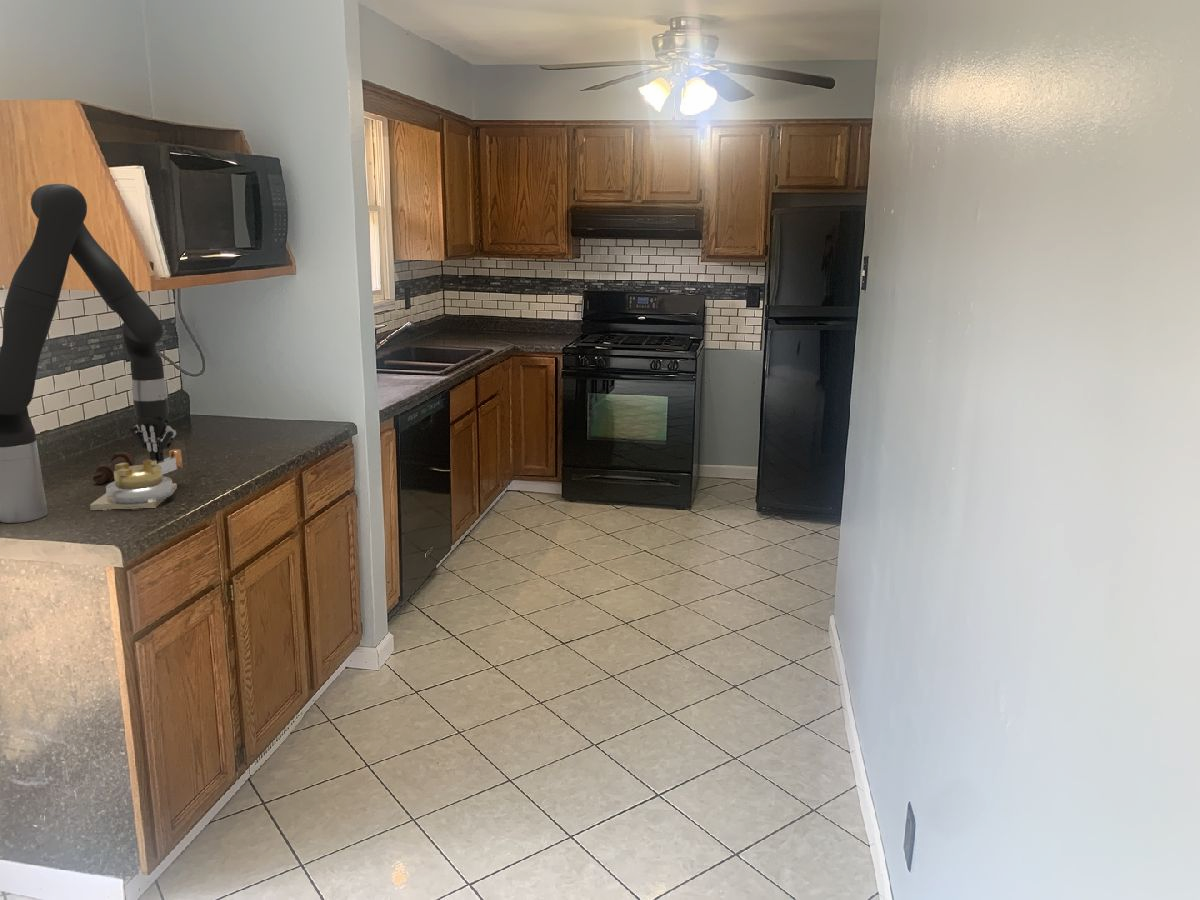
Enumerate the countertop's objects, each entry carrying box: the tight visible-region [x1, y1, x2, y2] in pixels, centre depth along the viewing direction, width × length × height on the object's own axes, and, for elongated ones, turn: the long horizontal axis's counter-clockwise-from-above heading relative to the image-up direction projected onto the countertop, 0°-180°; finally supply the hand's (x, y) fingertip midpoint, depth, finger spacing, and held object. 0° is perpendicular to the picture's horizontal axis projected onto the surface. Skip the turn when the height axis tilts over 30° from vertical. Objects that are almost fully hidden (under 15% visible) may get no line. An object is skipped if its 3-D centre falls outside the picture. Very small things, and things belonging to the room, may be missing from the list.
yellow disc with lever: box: [114, 448, 184, 488], centre depth 216 cm, size 20×10×4 cm, turn 168°
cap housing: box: [89, 475, 178, 511], centre depth 214 cm, size 16×17×4 cm
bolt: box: [92, 451, 135, 485], centre depth 233 cm, size 6×5×15 cm
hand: (157, 465), depth 221 cm, fingers closed
